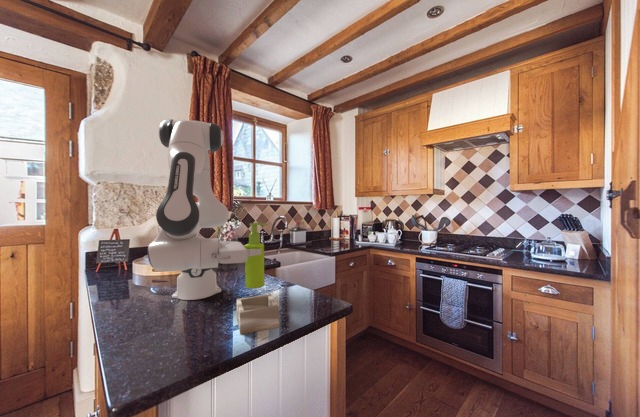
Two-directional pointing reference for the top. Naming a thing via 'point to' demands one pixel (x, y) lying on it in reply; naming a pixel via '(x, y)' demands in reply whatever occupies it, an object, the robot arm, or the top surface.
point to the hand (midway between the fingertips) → (258, 249)
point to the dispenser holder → (257, 313)
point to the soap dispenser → (255, 260)
